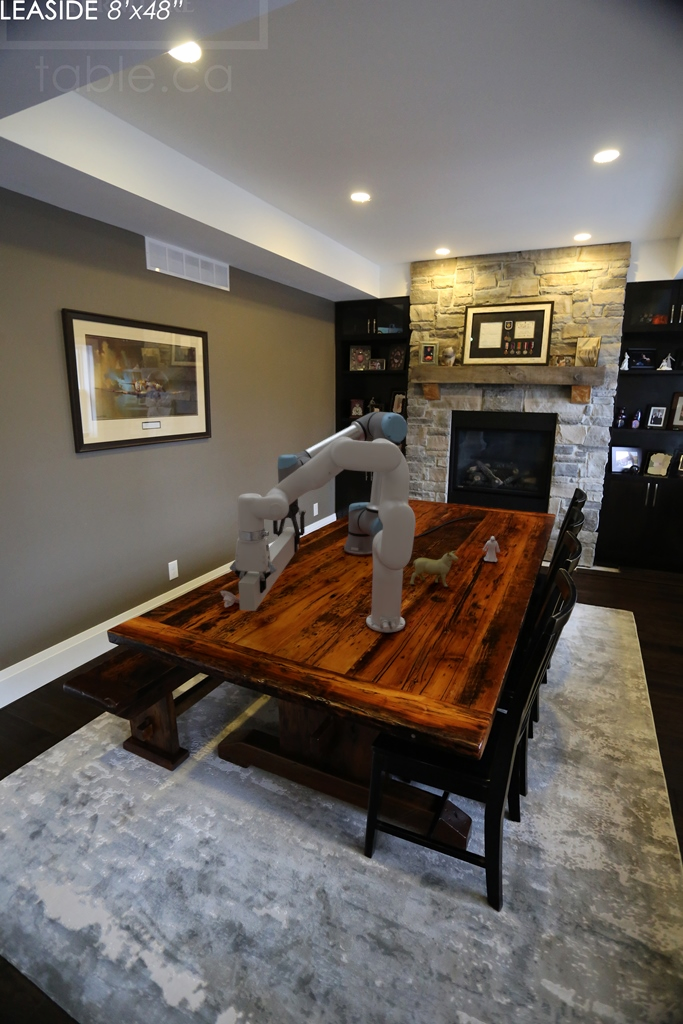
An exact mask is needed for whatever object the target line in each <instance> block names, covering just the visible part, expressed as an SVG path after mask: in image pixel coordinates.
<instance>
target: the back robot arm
mask: <svg viewBox="0 0 683 1024" xmlns="http://www.w3.org/2000/svg"><path fill="white" fill-rule="evenodd" d="M408 429H409V427H408V423H407V421H406V419H405V418H404V416H402V415H401V414H399V413H396V412H387V411H373V412H369V413H366V414H365V415H363V416H362V417H359V418H358V419H356V420H354V421H352V422H351V424H350V425H349V426H348V427H345V428H344V429H342V430H340V431H338V432H336V433H334V434H332V435H331V436H329V437H326V438H325V439H323V440H321V441H319V442H317V443H315V444H314V445H312V446H310V447H307V448H306V449H304V450H301V451H299V452H298V453H295V452H294V453H289V454H281V455H279V456H278V457H277V479H278V481H277V482H278V483H277V484H279V483H280V482H281V481H282V480H284V479H285V478H286V477H288V476H289V475H290V474H292V473H293V472H295V471H296V470H297V469H298V468H300V467H301V466H303V465H304V464H305V463H307V462H308V461H309V460H310V459H312V458H313V457H314V456H315V455H317V454H318V453H319V452H320V451H322V450H323V449H324V448H325V447H326V446H328V445H329V444H330V443H331V442H333V441H334V440H335V439H337V438H339V437H343V436H345V437H349V438H351V439H353V440H357V441H367V440H370V439H373V440H375V439H379V438H382V439H386V440H389V441H390V442H392V443H394V444H395V445H396V446H397V447H398V448H399V449H400V447H401V442H402V441H404V439H405V438H406V436H407V434H408ZM373 440H372V441H373ZM371 482H372V483H371V492H370V502H367V501H366V502H362V501H361V502H354V503H351V504H350V505H349V507H348V533H347V538H346V539H345V544H344V547H343V551H344V553H346V554H348V555H351V556H358V557H366V556H367V557H368V556H373V553H372V545H373V540H374V537H375V536H376V534H377V533H378V532H380V531H381V530H383V524H382V522H381V520H380V519H379V515H378V511H379V504H380V496H381V487H382V475H381V472H373V474H372V481H371ZM306 513H307V512H306V509H300V507H299V498H298V499H296V500H295V501H294V502H293V503H291V504H290V505H289V512H288V514H287V516H286V517H285V518H283V519H281V520H280V521H279V520H272V529H273V530H272V533H273V534H274V535H276V536H277V538H278V537H279V536H280V534H281V533H282V532H283V531H284V529H285V524H286V523H285V522H286V520H287V519H290V520H291V523H292V527H294V530H295V534H296V535H295V537H294V553H295V554H297V553H298V551H299V548H298V544H299V545H300V544H301V536H304V535H305V532H306V531H305V530H306V529H305V515H306ZM297 514H298V515H299V524H298V520H297ZM468 518H472V520H473V519H474V520H475V516H472V515H468V516H464V517H459V518H456V519H451V520H449V521H447V522H445V523H442V524H440V525H438V526H436V527H434V528H432V529H430V530H427V531H426V532H424V533H421V534H418V535H414V539H416V538H418V537H422V536H424V535H427V534H429V533H432V532H433V531H435V530H437V529H439V528H441V527H443V526H445V525H447V524H450V523H454V522H456V521H459V520H465V519H468ZM278 521H279V522H280V524H279V523H278ZM278 526H279V527H278Z"/></svg>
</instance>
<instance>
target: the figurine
mask: <svg viewBox="0 0 683 1024" xmlns="http://www.w3.org/2000/svg"><path fill="white" fill-rule="evenodd" d="M482 551H483V552H486V554H485V556H484V557H483V560H484V561H485V562H495V563H498V558H497V554H496V553H498V554H499V553H501V550H500V547H499V543H498V541H497V540H496V538H495V536H493V535H492V536H490V539H489V540H487V542H486V543H485V544H484V546H483V548H482Z"/></svg>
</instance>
